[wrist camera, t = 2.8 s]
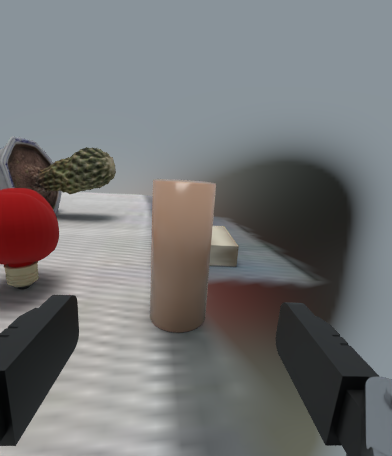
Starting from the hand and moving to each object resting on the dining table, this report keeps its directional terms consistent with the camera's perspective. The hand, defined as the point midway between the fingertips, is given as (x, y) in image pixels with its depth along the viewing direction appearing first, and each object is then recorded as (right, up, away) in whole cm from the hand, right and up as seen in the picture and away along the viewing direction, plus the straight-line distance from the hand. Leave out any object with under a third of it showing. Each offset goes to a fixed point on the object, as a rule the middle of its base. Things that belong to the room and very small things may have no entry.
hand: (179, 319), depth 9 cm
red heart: (-17, -3, +15) cm, 23 cm away
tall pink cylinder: (-1, -4, +13) cm, 13 cm away
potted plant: (-34, +6, +47) cm, 58 cm away
